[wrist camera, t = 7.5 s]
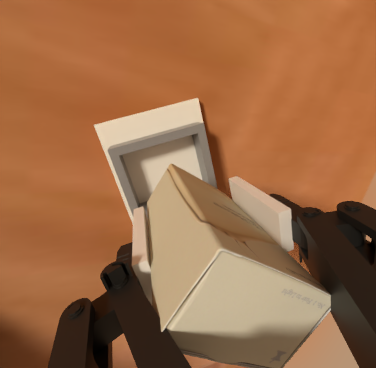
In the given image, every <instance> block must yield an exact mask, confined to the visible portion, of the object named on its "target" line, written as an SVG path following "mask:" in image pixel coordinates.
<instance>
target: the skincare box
mask: <svg viewBox="0 0 376 368" xmlns="http://www.w3.org/2000/svg"><path fill="white" fill-rule="evenodd" d="M147 213H148V232H149V252H150V268H151V286H152V306H153V308H154V309H155V311H156V312H157V314H158V316H159V317H160V324H161V332H163V331H164V330H165V328H167V330H168V331H169V333H170V335H171V336H172V338H173V339H174V341H175V342H176V344H177V346H178V347H179V349H180V350H181V352H182V354H185V355H190V356H194V357H199V358H204V359H208V360H211V361H215V362H220V363H225V364H231V365H238V366H244V367H249V368H283V367H284V366H285V364H286V363H287V362H288V361H289V360H290V359H291V357H292V356H293V355H294V354H295V352H297V350H298V349H299V348H300V347H301V345H302V344H303V343H304V342H305V341H306V339H307V338H308V337H309V336H310V334H312V332H313V331H314V330H315V329H316V328H317V327H318V325H319V324H320V323H321V321H322V320H323V319H324V318H325V317H326V315H327V314H328V313H329V312H330V311H331V295H330V294H329V292H328V291H327V290H326V289H325V288H324V287H323V286H322V285H321V284H320V283H319V282H318V281H317V280H316V279H315V278H314V277H313V276H311V275H310V274H309V273H308V272H307V271H306V270H305V269H304V268H303V267H302V266H301V265H300V264H299V263H298V262H297V261H296V260H295V259H293V258H292V257H291V256H290V255H289V254H288V253H287V252H286V251H285V250H284V249H283V248H282V247H281V246H280V245H279V244H278V243H277V242H275V241H274V240H273V239H272V238H271V237H270V236H269V235H268V234H267V233H266V232H265V231H264V230H263V229H262V228H261V227H260V226H259V225H258V224H257V223H255V222H254V221H253V220H252V219H251V218H250V217H249V216H248V215H247V214H246V213H245V212H244V211H243V210H242V209H241V208H240V207H239V206H238V205H237V204H236V203H235V202H234V201H233V200H232V199H230V198H229V197H228V196H227V195H226V194H225V193H223V192H222V191H220V190H218V189H216V188H215V187H213V186H211V185H210V184H208V183H206V182H204V181H203V180H201V179H199V178H197V177H196V176H194V175H192V174H190V173H188V172H186V171H185V170H183V169H181V168H179V167H177V166H176V165H174V164H170V165H169V166H168V168H167V170H166V171H165V173H164V174H163V176H162V178H161V179H160V181H159V183H158V184H157V186H156V188H155V189H154V191H153V193H152V195H151V196H150V198H149V200H148V202H147Z"/></svg>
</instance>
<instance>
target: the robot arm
mask: <svg viewBox="0 0 376 368" xmlns="http://www.w3.org/2000/svg"><path fill="white" fill-rule="evenodd" d="M229 184H230V190H231V195H232V200H233V201H234V202H235V203H236V204H237V205H238V206H239V207H240V208H241V209H242V210H243V211H244V212H245V213H246V214H247V215H248V216H249V217H250V218H251V219H252V220H253V221H254V222H255V223H257V224H258V225H259V226H260V227H261V228H262V229H263V230H264V231H265V232H266V233H267V234H268V235H269V236H270V237H271V238H272V239H273V240H274V241H275V242H277V243H278V244H279V245H280V246H281V247H282V248H283V249H284V250H285V251H286V252H288V251H291V250H294V243H293V241H294V242H296V243H297V244H298V245H299V260H300V263H301V262H302V258H303V260H304V262H305V264H306V266H307V268H308V270H309V271H310V273H311V275H312V276H313V277H314V278H315V279H316V280H317V281H318V282H319V283H320V284H321V285H322V286H323V287H324V288H325V289H326V290H327V291H328V292H329V294H330V295H331V311H330V312H331V314H332V315H333V318H334V319H335V321H336V323H337V325H338V327H339V329H340V331H341V333H342V335H343V337H344V339H345V341H346V343H347V345H348V346H349V348H350V350H351V352H352V354H353V356H354V358H355V360H356V362H357V364H358V366H359V368H376V210H375V209H373V208H371V207H369V206H367V205H365V204H362V203H359V202H354V201H346V202H341V203H339V204H338V205H337V211H333V212H326V213H324V212H323V211H321V210H320V209H317V208H312V207H306V208H302V207H300V206H298V205H297V204H295V203H293V202H291V201H289V200H288V199H285V198H284V197H282V196H281V195H277V194H270V195H267V194H266V193H264V192H262V191H261V190H259V189H257V188H256V187H254V186H252V185H251V184H249V183H248V182H246V181H244V180H243V179H241V178H239V177H238V176H236V177H232V178H229ZM366 235H368V236H369V237H370V238H372V241H371V242H369V241H367V240H366ZM100 278H101V280H102V282H103V284H104V286H105V288H106V290H107V292H105V293H104V294H103V295H102V296H100V297H99V298H97V299H95V300H94V301H92V302H91V301H90V300H89V299H88V298H82V299H79V300H76V301H75V302H73V303H71V304H70V305H69V306H68V307H67V308H66V309H65V310H64V312H63V313H62V315H61V317H60V320H59V324H58V328H57V332H56V336H55V340H54V344H53V348H52V353H51V357H50V361H49V365H48V368H112V341H113V340H114V339H116V338H117V337H119V336H120V335H121V334H123V333H124V335H125V337H126V340H127V342H128V345H129V347H130V350H131V352H132V355H133V358H134V360H135V363H136V365H137V368H191V366H190V365H189V363H188V361H187V360H186V358H185V357H184V355H183V354H182V352H181V350H180V349H179V347H178V346H177V344H176V342H175V341H174V339H173V338H172V336H171V335H170V333H169V331H168V330H167V328H165V330H164V331H163V332H161V324H160V317H159V316H158V314H157V312H156V311H155V309H154V308H153V306H152V286H151V268H150V252H149V232H148V218H147V215H146V213H145V210H144V207H143V206H142V207H139V208H136V209H134V214H133V242H132V243H129V244H126V245H123V246H121V247H120V249H119V250H118V252H117V259H116V261H115V262H113V263H111V264H109V265H108V266H106V267H105V268H104V270H103V271H102V273H101V275H100Z"/></svg>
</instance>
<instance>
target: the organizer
mask: <svg viewBox="0 0 376 368" xmlns="http://www.w3.org/2000/svg"><path fill="white" fill-rule="evenodd" d="M94 127H95V129H96V132H97V134H98V137H99V139H100V142H101V144H102V147H103V150H104V152H105V155H106V157H107V160H108V162H109V165H110V167H111V170H112V172H113V175H114V178H115V180H116V183H117V185H118V188H119V190H120V193H121V195H122V198H123V200H124V203H125V205H126V208H127V211H128V213H129V216H130V218H131V221H132V223H133V214H134V209H136V208H139V207H142V206H143V207H144V210H145V213H146V215H147V218H148V213H147V202H148V200H149V198H150V196H151V195H152V193H153V191H154V189H155V188H156V186H157V184H158V183H159V181H160V179H161V178H162V176H163V174H164V173H165V171H166V170H167V168H168V166H169V165H170V164H174V165H176V166H177V167H179V168H181V169H183V170H185V171H186V172H188V173H190V174H192V175H194V176H196V177H197V178H199V179H201V180H203V181H204V182H206V183H208V184H210V185H211V186H213V187H215V188H216V189H218V188H217V184H216V179H215V174H214V169H213V165H212V160H211V155H210V150H209V145H208V141H207V136H206V131H205V126H204V123H203V119H202V114H201V109H200V104H199V100H198V98H196V99H192V100H188V101H184V102H180V103H176V104H173V105H169V106H165V107H161V108H157V109H153V110H149V111H146V112H142V113H138V114H134V115H130V116H126V117H123V118H119V119H115V120H111V121H107V122H103V123H100V124H96V125H94Z"/></svg>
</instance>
